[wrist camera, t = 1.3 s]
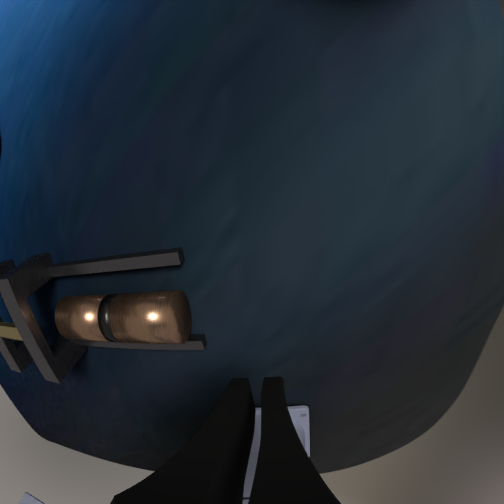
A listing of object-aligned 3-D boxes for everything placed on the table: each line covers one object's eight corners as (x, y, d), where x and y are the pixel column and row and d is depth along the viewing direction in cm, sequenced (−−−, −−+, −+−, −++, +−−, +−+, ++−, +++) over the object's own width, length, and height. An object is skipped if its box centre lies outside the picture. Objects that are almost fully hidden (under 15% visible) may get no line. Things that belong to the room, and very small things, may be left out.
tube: (180, 279, 18) (164, 315, 16) (194, 318, 20) (183, 354, 17) (69, 287, 20) (48, 314, 17) (87, 319, 22) (70, 347, 19)
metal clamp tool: (210, 353, 21) (193, 402, 16) (37, 342, 24) (11, 369, 19) (178, 232, 18) (144, 264, 13) (2, 261, 20) (-32, 282, 16)
